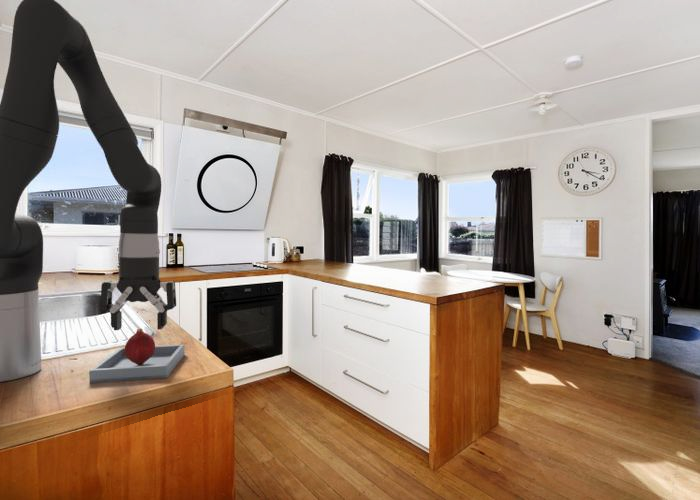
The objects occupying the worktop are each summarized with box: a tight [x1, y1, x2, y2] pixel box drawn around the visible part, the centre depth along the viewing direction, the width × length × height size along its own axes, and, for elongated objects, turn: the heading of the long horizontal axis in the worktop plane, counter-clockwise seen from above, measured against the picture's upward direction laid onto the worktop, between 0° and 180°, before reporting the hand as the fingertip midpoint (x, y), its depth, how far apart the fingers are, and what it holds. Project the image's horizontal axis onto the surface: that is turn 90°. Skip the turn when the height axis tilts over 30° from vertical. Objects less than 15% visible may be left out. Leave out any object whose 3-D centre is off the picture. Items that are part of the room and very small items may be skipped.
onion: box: [124, 327, 156, 365], centre depth 78 cm, size 6×6×8 cm
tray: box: [88, 344, 185, 384], centre depth 79 cm, size 14×14×2 cm
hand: (139, 328), depth 79 cm, fingers open, 8 cm apart
